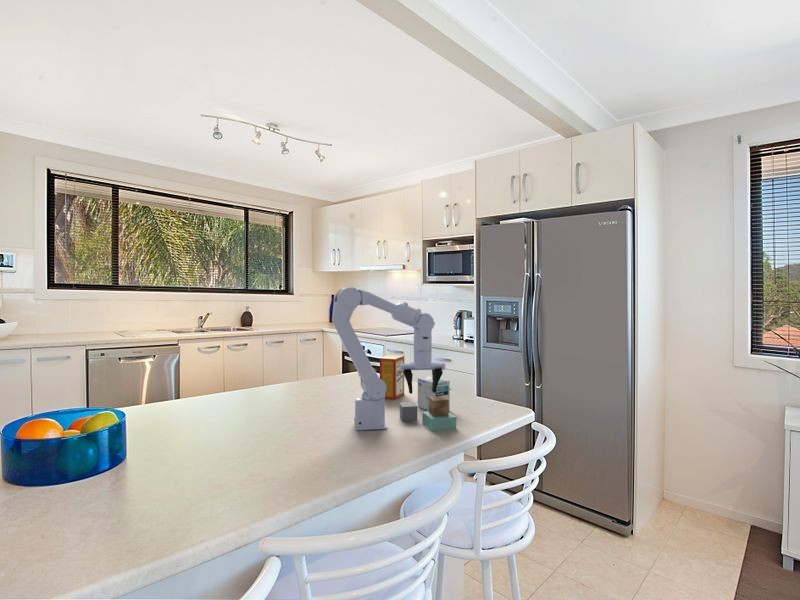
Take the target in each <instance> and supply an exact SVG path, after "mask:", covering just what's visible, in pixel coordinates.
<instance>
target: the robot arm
mask: <svg viewBox="0 0 800 600" xmlns="http://www.w3.org/2000/svg"><path fill="white" fill-rule="evenodd" d="M358 306H371V307H374V308H376V309H378V310H381V311H384V312H387V313H388V314H391V317H392V320H394V321H396V322H400V323H402V324H404V325H406V326H409V327H412V328H413V362H410V363H404V364H400V371H403V373H404V379H406V380H405V382H407V383H406V384H407V386H408V393H409V394H410V395H412V394H413V376H414V374H413V371H431V376H432V379H433V382H432V391H433V393H436V389H437V385H438V382H439V380H440V378H441V377H442V376H443V373H444V372H443V371H445V370H446V363H445V362H432V355H433V354H432V352H433V351H432V349H433V348H432V346H433V344H432V340H433V339H432V331H433V329H434V326H435V324H436V322H434V321H435V320H434V318H433V316H432V315H431V314H429V313H426V312H422V310H421V309H420V308H415V307H413V306H410V305H409V303H407V302H405V301H404V302H397V303H396V304H395V303H393V302H391V301H389V300H386V299H384V298H383V297H380V296H378V295H376V294H374V293H372V292H370V291H366V290H362V289H357V288H356V287H353V286H346V287H345V286H344V287H342V288H340V289H339V290H338V291H337V292H336V294H335V296H334V298H333V308H332V315H331V316H332V317H331V322H332V324H333V326H334V328H335V329H336V332H337V334H338V336H339V338H340V340H341V342H342V344H343V347H345V350H346V352H347V355H349V357H350V359H351V361H352V363H353V365H354V368H355V370H356V371H357V373H358V377H359V379H360V388H361V389H362V390H363V393H362V394H361V397H356V398H354V417H353V422H354V426H355V431H365V430H366V431H367V430H387V429H388V425H387V422H386V421H385V420H386V416H385V415H386V404H385V403H386V402H385V401H386V399H385V393H386V389H387V388H386V384H385V382H384V381H383V380H381V379H380V376H379V375H378V373H377V372H376V370H375V369H374V367H373V366H372V363H371V361H370V360H369V357H368V355H367V353H366V352H365V350H364V347H363V346H362V344H361V342H360V339H359V338H358V335H357V334H356V332H355V329H354V327H353V326H352V324H351V322H350V321H351V319H352V318H351V317H352V315H353V313H354V311H355V310H356V309H357V308H358ZM441 379H442V378H441Z"/></svg>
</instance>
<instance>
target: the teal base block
mask: <svg viewBox="0 0 800 600" xmlns="http://www.w3.org/2000/svg"><path fill="white" fill-rule="evenodd" d="M421 413H422V414H421V415H422V421H421V422H422V423H421V424H422V425H424V426H425V425H426V426H427V427H428V428H429V430H430V431H431V432H438V431H437V430H440V431H447V430H446V429H450V430H456V429H457V416H455V415H454V413H451V412H450V411H449V416H441V417H433V416H432V415H431V414H430V413H429V411H428V410H426V411H422V412H421ZM426 426H425V427H426ZM427 427H426V428H427ZM428 428H427V429H428Z"/></svg>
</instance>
